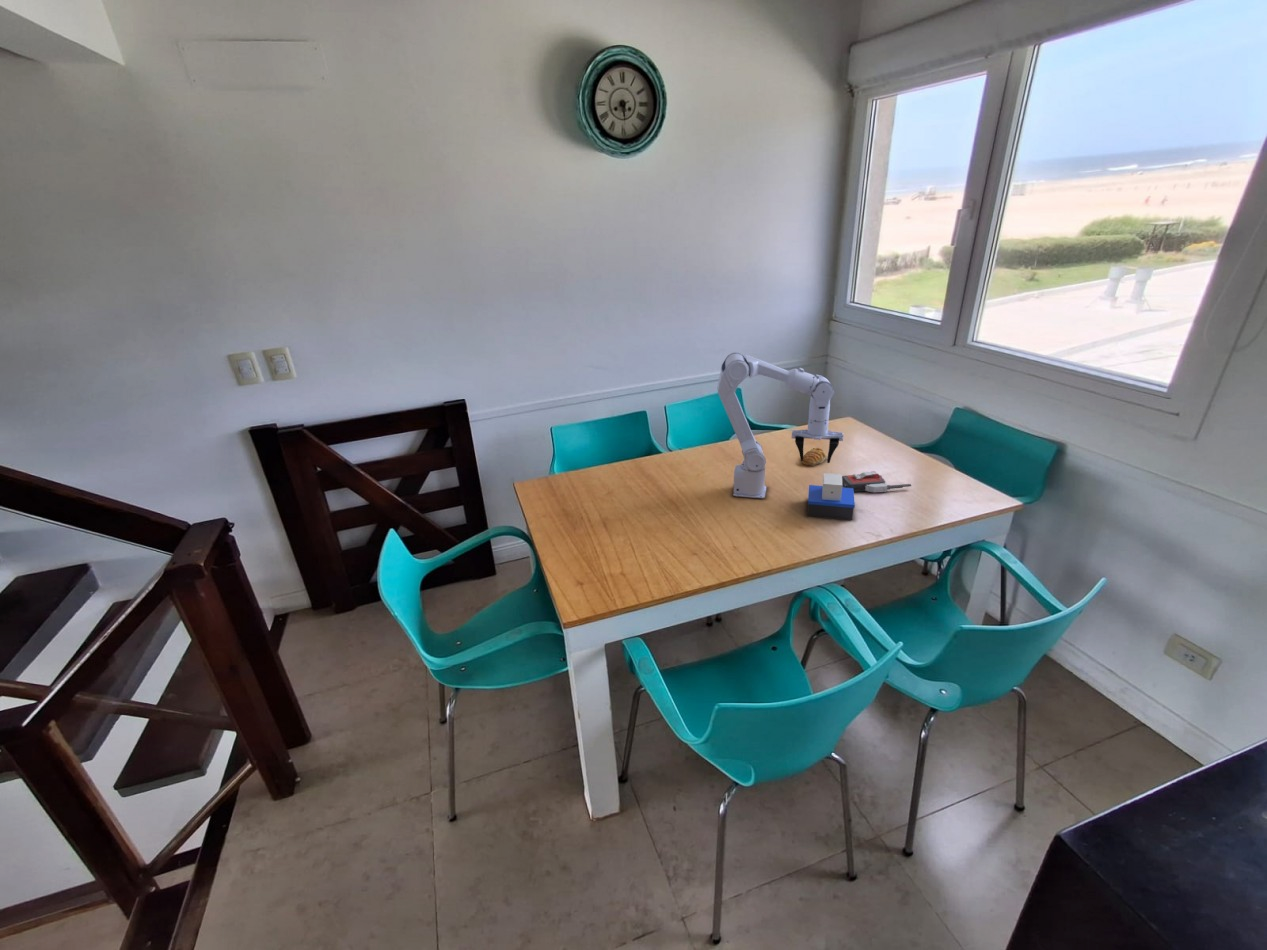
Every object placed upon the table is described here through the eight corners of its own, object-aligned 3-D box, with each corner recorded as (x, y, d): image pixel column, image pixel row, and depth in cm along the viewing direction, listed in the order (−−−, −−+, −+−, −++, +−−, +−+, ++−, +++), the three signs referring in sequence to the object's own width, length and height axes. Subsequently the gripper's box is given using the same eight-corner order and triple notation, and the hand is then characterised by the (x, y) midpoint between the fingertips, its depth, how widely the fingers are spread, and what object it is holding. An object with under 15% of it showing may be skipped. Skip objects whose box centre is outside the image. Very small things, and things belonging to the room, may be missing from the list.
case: (840, 501, 156) (842, 485, 154) (822, 499, 158) (823, 483, 156) (840, 489, 162) (841, 474, 160) (822, 488, 164) (823, 473, 162)
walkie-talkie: (847, 496, 169) (912, 490, 169) (848, 483, 167) (914, 477, 167) (836, 483, 177) (898, 478, 177) (837, 470, 175) (900, 465, 175)
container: (806, 516, 160) (808, 501, 158) (807, 499, 169) (809, 484, 167) (852, 520, 156) (854, 505, 154) (851, 503, 165) (853, 488, 163)
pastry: (816, 468, 187) (817, 458, 186) (797, 464, 191) (798, 454, 190) (827, 459, 194) (828, 448, 192) (809, 455, 198) (809, 445, 196)
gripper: (792, 422, 162) (789, 464, 168) (845, 424, 157) (840, 467, 163) (793, 414, 168) (790, 455, 174) (844, 416, 163) (840, 458, 169)
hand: (815, 460), depth 169 cm, fingers open, 7 cm apart
